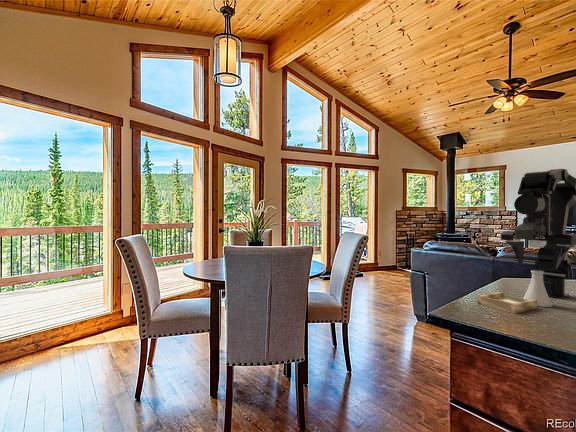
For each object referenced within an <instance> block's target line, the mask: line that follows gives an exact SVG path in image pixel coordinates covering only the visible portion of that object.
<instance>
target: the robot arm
mask: <svg viewBox="0 0 576 432" xmlns="http://www.w3.org/2000/svg"><path fill="white" fill-rule="evenodd" d="M517 195H519V196H518V197H517V198H516V199H515V201H514V203H513V205H514V209H515V210H516V212H517V213H519V214H521V215H525V216H524V217H523V219H522V223H521V224H519V225H517V226H515V227H514V228H513V230H503V231H502V232H501V234H500V240H501V241H504V243H505V244H508V245H509V246H510V247H511V248H512V251H513V252H514V254H515V257H516V260H517V262H518V264H519V265H523V263H524V256H525V255H524V253H525V243H526V242H525V241H540V242H541V241H543V242H546V243H545V245H544V246H542V247H541V246H540V247H539V249H538V252H537V253H538V254H537V257H536V258H535V260H534V266H535V267H534V269H535V270H539V271H544V274H543V282H544V286H545V289H546V291H547V294H548V297H549V298H550V297H552V298H557V299H563V298H568V297H571V295H570V294H569V293H566V280H574V272H573V267H572V266H573V265H572V264H571V262H570V260H569V257H568V255H567V253H568V251H569V250H570V249H571V248H575V246H576V233H567V226H568V225H567V223H568V218H569V217H568V216H569V210H570V208H572V207H573V206H574V205H575V204H576V177H574V176H573V175H572V174H570V173H569V171H568V170H567V169H565V168H558V169H556V168H555V169H549V170H546V171H536V172H535V171H534V172H532V171H531V172H526V173H524V175H523V176H522V178H521V181H520V184H519V187H518V190H517Z"/></svg>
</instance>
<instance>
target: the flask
mask: <svg viewBox="0 0 576 432" xmlns="http://www.w3.org/2000/svg"><path fill="white" fill-rule="evenodd" d="M530 272H531V279H530V282H529V285H528V287H527V290H526V292H525V294H524V295H523V296H524V297H523V298H522V299H526V300H531V299H536V300H537V307H540V308H541V307H543V308H548V307H551V308H552V307H553V304H552V302H551V299H550V296H548V294H547V291H546V289H545V286H544V282H543V274H544V271H539V270H536V269H532V270H530Z"/></svg>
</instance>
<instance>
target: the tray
mask: <svg viewBox="0 0 576 432" xmlns="http://www.w3.org/2000/svg"><path fill="white" fill-rule="evenodd" d="M477 305H481V306H484V307H488V308H492V309H496V310H498V311H499V310H500V311H504V312H508V313H511V314H518V313H523V312H527V311H531V310H535V309H538V306H537V300H536V299H531V300H526V299H523V298H521V297H517V296H512V295H507V294H504V292H503V291H497V292H491V293H486V294H481V295H477Z"/></svg>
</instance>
